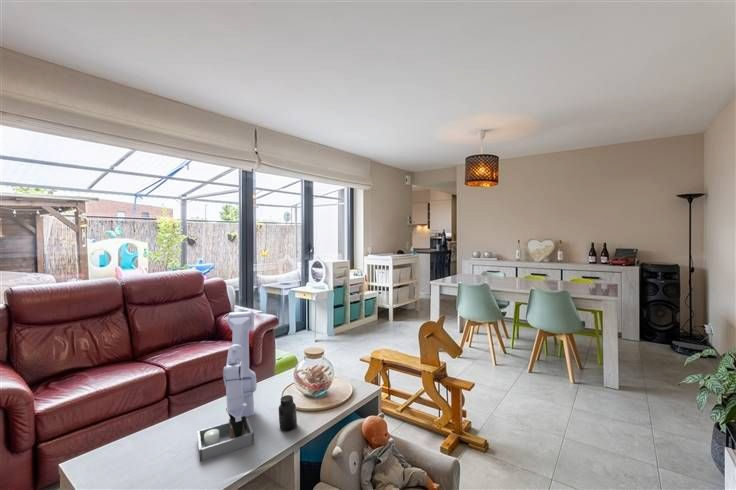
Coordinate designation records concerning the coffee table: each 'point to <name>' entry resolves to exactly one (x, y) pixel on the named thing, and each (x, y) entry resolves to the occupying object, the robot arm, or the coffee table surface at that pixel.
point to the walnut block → (233, 432)
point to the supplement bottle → (287, 414)
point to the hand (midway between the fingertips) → (236, 430)
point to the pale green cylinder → (211, 437)
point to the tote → (224, 440)
